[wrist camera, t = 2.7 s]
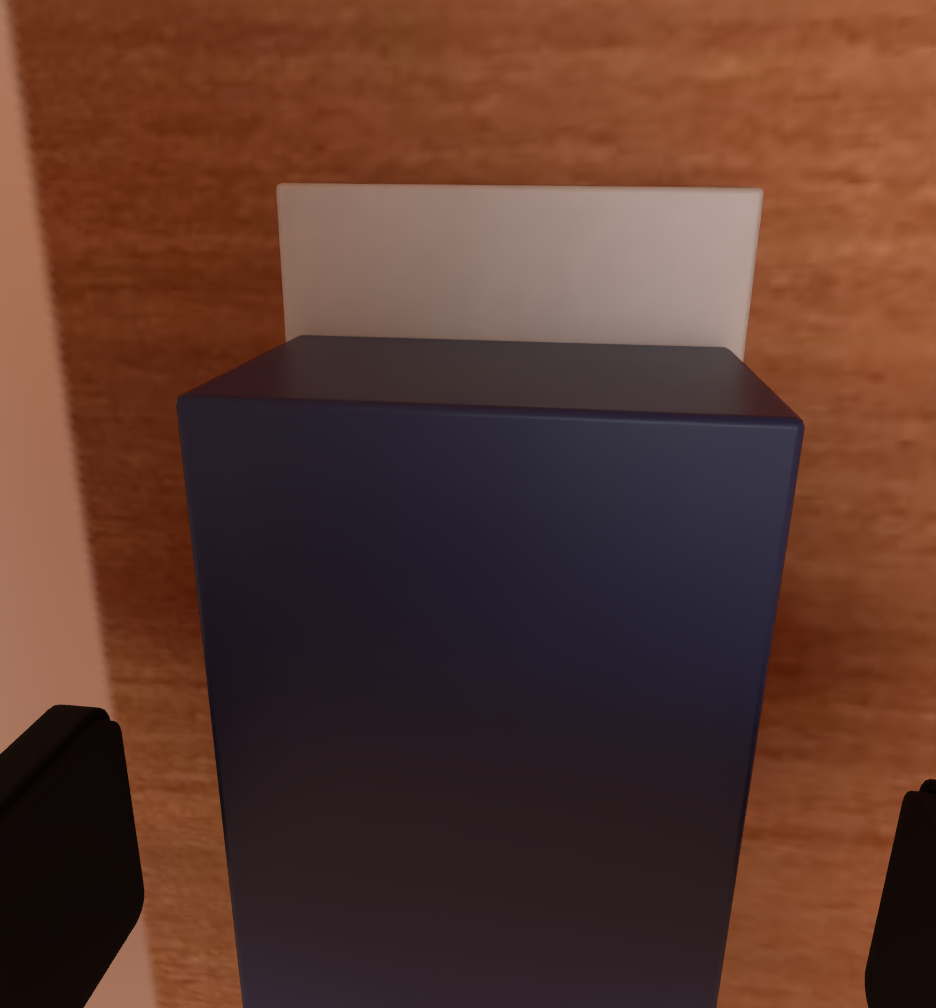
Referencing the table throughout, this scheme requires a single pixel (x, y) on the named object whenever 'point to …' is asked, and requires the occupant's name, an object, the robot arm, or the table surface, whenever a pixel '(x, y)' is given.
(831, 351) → the table surface
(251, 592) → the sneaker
